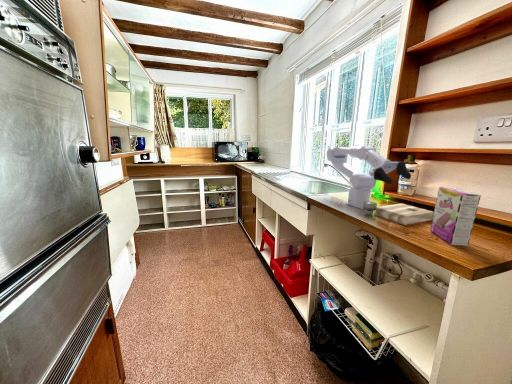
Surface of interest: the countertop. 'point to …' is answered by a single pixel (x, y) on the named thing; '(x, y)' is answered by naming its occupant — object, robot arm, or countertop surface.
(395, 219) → the board
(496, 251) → the countertop surface
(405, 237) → the countertop surface
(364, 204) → the peg
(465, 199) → the candy bar box
